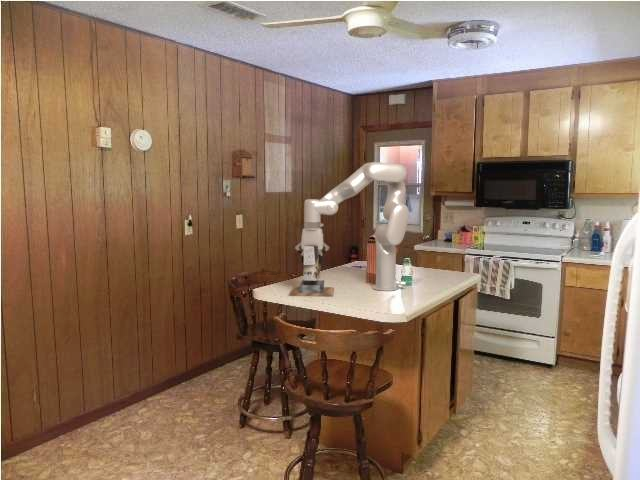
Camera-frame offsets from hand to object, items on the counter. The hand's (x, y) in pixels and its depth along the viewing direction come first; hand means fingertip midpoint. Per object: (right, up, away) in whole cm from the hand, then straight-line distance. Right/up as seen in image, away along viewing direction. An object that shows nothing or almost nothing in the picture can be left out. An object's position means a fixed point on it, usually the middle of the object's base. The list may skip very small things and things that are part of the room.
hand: (312, 263), depth 230 cm
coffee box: (0, -7, +1) cm, 7 cm away
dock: (0, -14, +1) cm, 14 cm away
